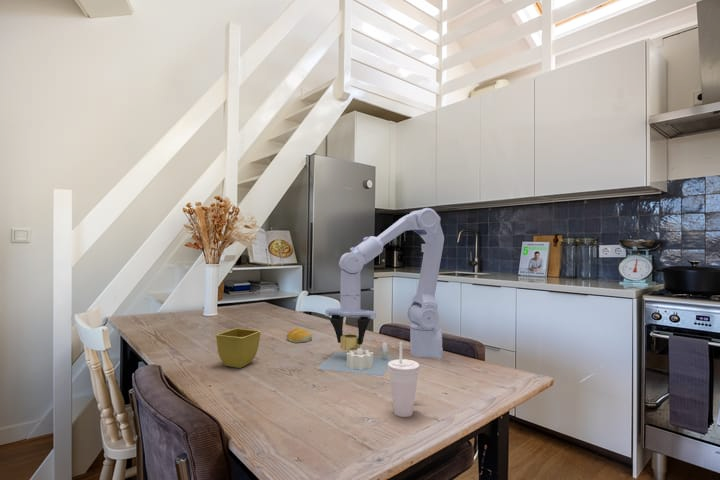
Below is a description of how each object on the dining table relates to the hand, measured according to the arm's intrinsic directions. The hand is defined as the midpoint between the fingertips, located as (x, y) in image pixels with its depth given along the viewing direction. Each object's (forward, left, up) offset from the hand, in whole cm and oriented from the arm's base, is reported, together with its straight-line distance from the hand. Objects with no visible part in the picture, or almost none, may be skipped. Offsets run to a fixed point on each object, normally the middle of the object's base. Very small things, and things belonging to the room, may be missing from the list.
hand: (350, 342), depth 106 cm
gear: (-5, +5, -4) cm, 8 cm away
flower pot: (+29, +11, -6) cm, 32 cm away
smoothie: (-20, +27, -6) cm, 34 cm away
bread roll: (+25, -19, -6) cm, 32 cm away
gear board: (-3, +3, -6) cm, 7 cm away
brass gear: (0, 0, -2) cm, 2 cm away
